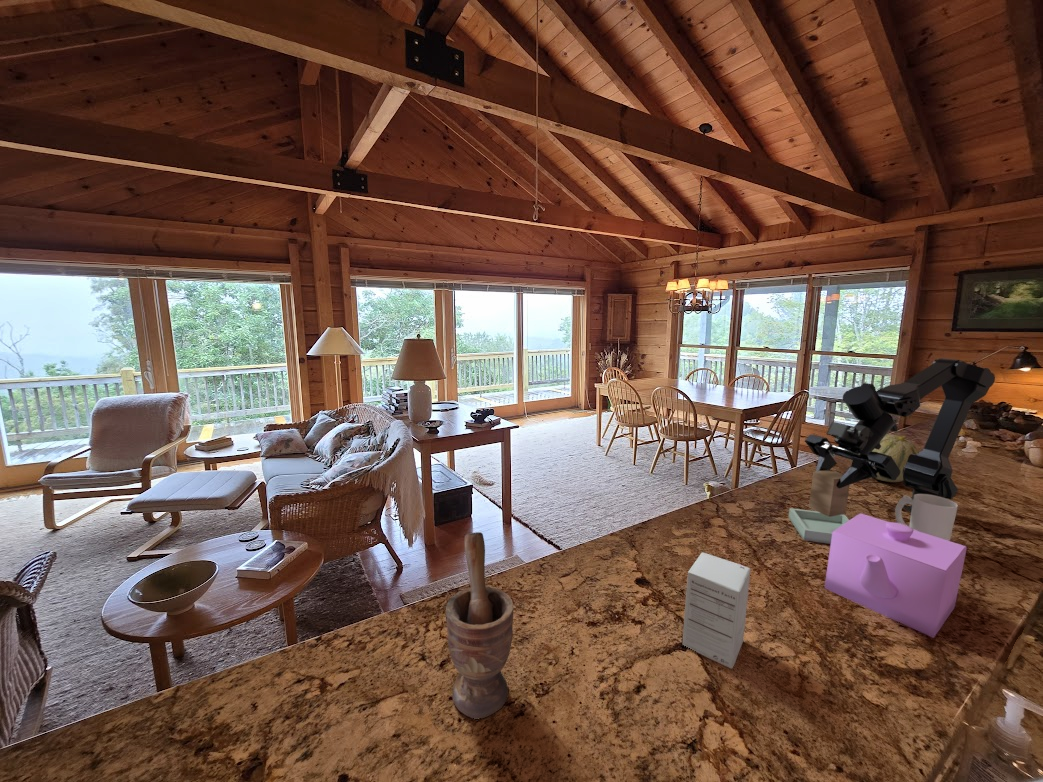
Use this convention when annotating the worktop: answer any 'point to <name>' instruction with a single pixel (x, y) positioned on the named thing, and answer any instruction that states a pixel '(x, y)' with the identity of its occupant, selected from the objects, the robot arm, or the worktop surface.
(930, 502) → the mug
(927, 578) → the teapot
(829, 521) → the tray
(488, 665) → the mortar and pestle
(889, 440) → the cantaloupe
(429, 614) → the worktop surface
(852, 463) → the robot arm
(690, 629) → the supplement box
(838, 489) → the walnut block
